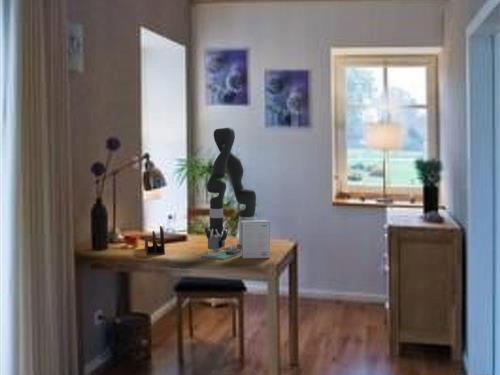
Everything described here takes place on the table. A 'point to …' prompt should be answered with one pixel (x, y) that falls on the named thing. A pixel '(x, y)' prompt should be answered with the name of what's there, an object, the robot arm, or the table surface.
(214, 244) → the plug housing
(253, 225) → the hard drive box
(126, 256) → the table surface
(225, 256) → the pcb board
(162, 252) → the letter holder
